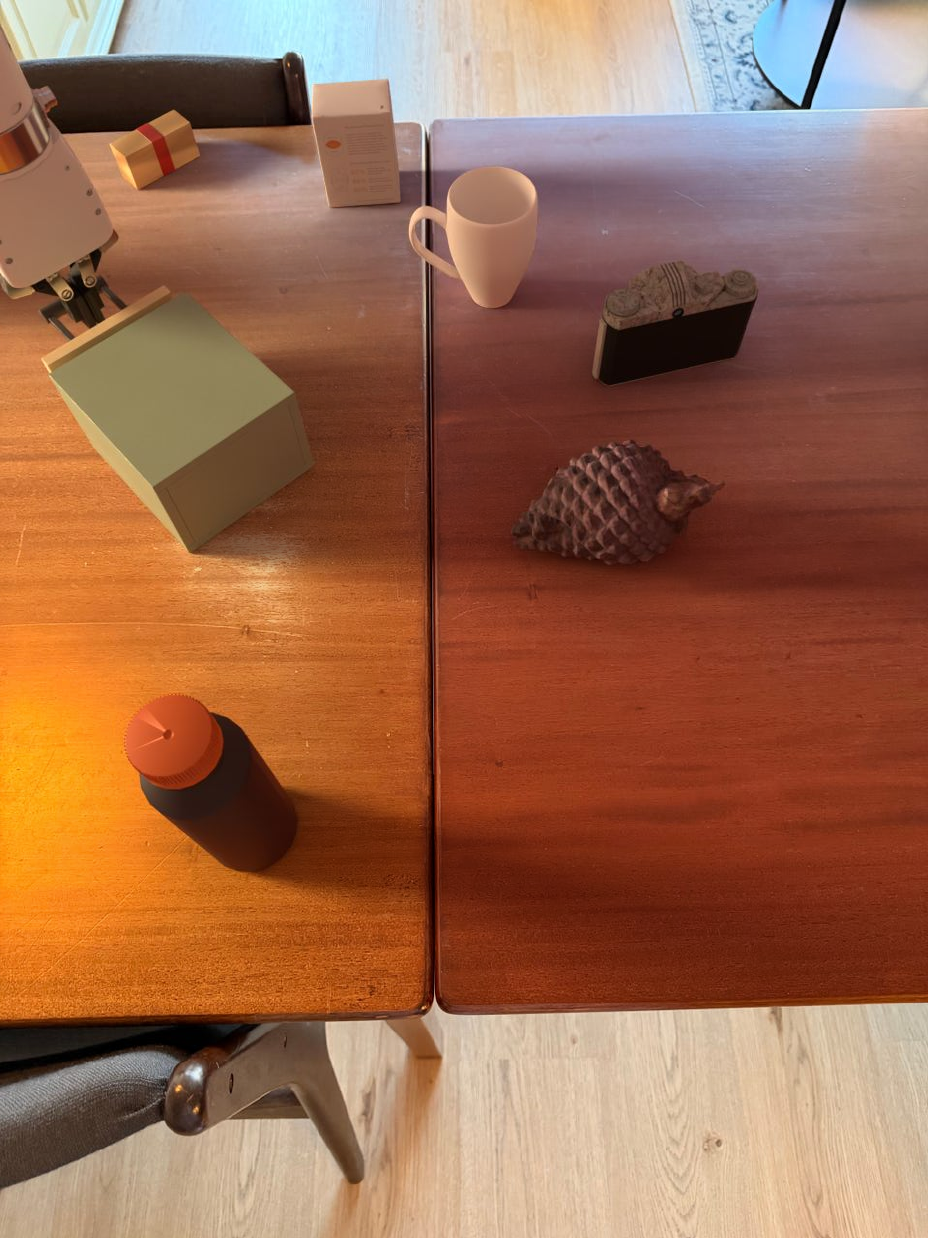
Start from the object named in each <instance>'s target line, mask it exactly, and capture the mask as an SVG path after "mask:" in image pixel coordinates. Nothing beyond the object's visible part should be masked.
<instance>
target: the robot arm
mask: <svg viewBox="0 0 928 1238" xmlns="http://www.w3.org/2000/svg"><path fill="white" fill-rule="evenodd" d="M55 106H58V101H57V98H56V95H55V94H54V92H53V91H52V90H51V88H50V87H49V86H48V85H45V86H44V87H42V88H34V89H33V88H31V87H30V85H29V83H28V81H27V79H26V77H25V75H24V72H23V70H22V68H21V65H20V63H19V61H18V59H17V57H16V55H15V52H14V51H13V48H12V47H11V44H10V41H9V40H8V38H7V35H6V34H5V31H4V29H3V27H2V25H1V24H0V286H1V289H2V291H3V292H4V293H5V294H6V295H7V296H8V297H9V298H10V299H11V300H17V299H21V298H24V297H27V296H30V295H33V293H35V292H36V293H39V294H43V295H48V296H53V297H56V298H57V297H58V298H60V300H61V302H62V304H63V306H64V307H65V309H66V311H67V314H68V316H69V317H70V319H71V320H72V321H73V322H74V323H75V324H79V323H80V322H82V323H83V324H84V325H85V326H86V327H87V329H88V330H89V329H91V328H93V327H94V326H96V325H98V324H99V323H101V322H103V321H104V320H106V319H107V318H106V317H105V315H104V314H103V311H102V309H103V308H105V303H104V301H103V299H102V297H101V294H99V293H98V291H97V289H96V287H95V284H96V282H97V278H96V276H97V275H96V273H97V270H98V267H99V264H100V262H101V260H102V259H101V258H102V256H103V255H102V254H105V253H106V252H107V251H108V250H110V248H112V247H113V246H114V245H115V244H116V243H117V242H118V241H119V238H120V237H119V234H118V233H117V231H116V230H115V229H114V227H113V224H112V220H111V217H110V215H109V213H108V210H107V209H106V207H105V205H104V202H103V201H102V199H101V197H100V195H99V193H98V191H97V189H96V188H95V186H94V184H93V182H92V180H91V178H90V177H89V176H88V174H87V172H86V170H85V168H84V166H83V165H82V163H81V162H80V160H79V158H78V157H77V154H76V153H75V152H74V150H73V149H72V147H71V145H70V144H69V142H68V141H67V140H66V138H65V137H64V135H63V134H62V132H61V131H60V130H59V129H58V128H57V126H56V125H55V123H54V122H53V121H52V120H51V119H50V118H49V117H48V112H50V111H51V108H53V107H55ZM66 267H67V268H68V270H69V272H68V273H67V274H66V275H67V279H66V278H65V277H64V276H62V275H61V273H60V272H59V271H61V270H62V269H64V268H66Z"/></svg>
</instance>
